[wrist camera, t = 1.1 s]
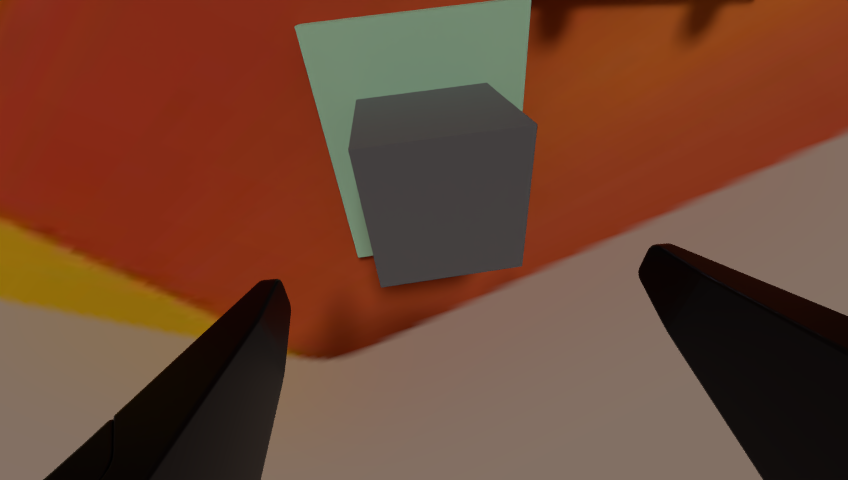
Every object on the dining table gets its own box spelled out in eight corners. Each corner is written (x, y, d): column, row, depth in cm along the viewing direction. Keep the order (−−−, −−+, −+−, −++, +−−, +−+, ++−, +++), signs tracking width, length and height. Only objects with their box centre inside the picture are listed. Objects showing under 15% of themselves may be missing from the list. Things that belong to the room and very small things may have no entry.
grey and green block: (519, -3, 12) (616, 2, 7) (505, 222, 18) (553, 307, 13) (300, 23, 12) (250, 46, 7) (359, 243, 18) (353, 338, 13)
